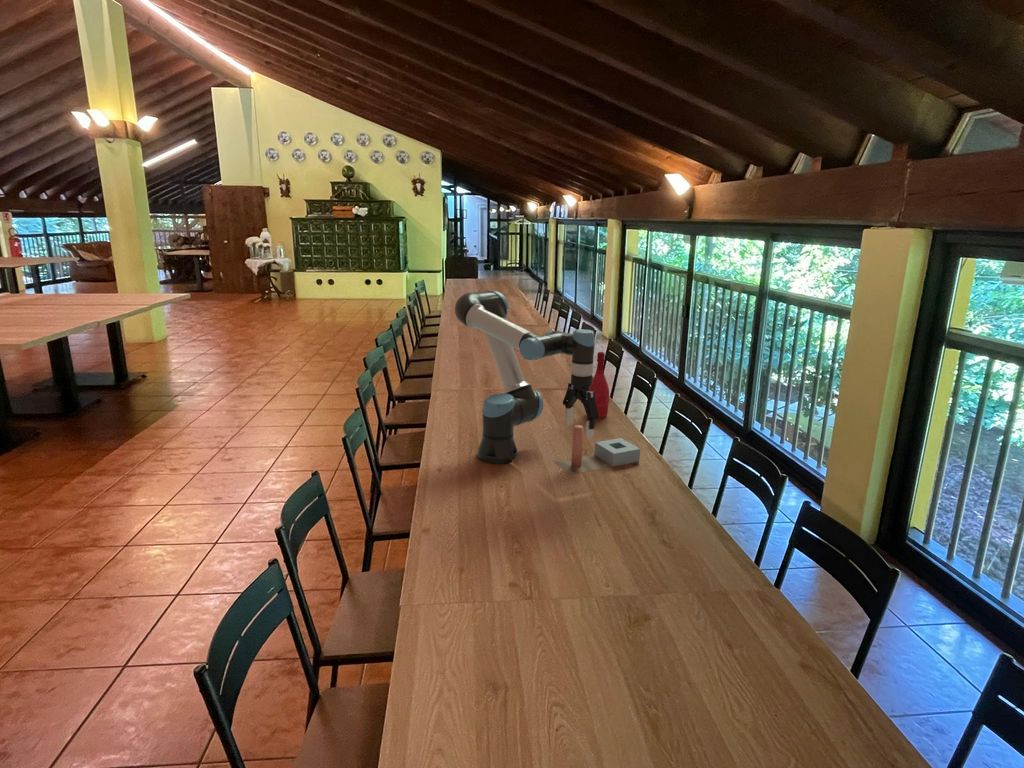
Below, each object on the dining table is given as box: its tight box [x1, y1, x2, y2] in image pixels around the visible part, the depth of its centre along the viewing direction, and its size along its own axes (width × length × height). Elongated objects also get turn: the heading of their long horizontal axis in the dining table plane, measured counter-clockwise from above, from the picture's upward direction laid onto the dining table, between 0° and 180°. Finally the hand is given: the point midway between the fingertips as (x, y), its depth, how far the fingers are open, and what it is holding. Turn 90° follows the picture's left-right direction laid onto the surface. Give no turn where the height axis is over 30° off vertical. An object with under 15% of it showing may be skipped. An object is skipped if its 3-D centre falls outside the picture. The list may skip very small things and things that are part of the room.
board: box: [554, 454, 640, 475], centre depth 230 cm, size 30×12×1 cm, turn 116°
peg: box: [571, 424, 585, 467], centre depth 223 cm, size 4×4×15 cm
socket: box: [593, 437, 641, 467], centre depth 233 cm, size 12×12×5 cm
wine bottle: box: [589, 351, 610, 419], centre depth 278 cm, size 10×10×30 cm
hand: (579, 431), depth 221 cm, fingers open, 13 cm apart
